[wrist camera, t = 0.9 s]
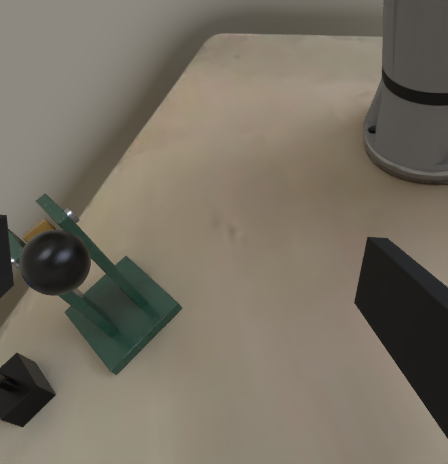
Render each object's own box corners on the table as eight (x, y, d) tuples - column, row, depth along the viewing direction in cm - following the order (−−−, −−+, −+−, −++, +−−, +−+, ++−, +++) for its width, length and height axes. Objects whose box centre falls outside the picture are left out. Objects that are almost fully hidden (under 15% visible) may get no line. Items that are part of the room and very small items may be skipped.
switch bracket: (182, 308, 42) (107, 213, 30) (116, 375, 39) (5, 301, 27) (130, 260, 48) (50, 165, 36) (70, 316, 45) (-39, 234, 33)
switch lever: (109, 268, 22) (61, 218, 20) (56, 317, 21) (1, 268, 19) (75, 237, 35) (45, 206, 34) (42, 266, 34) (9, 235, 33)
